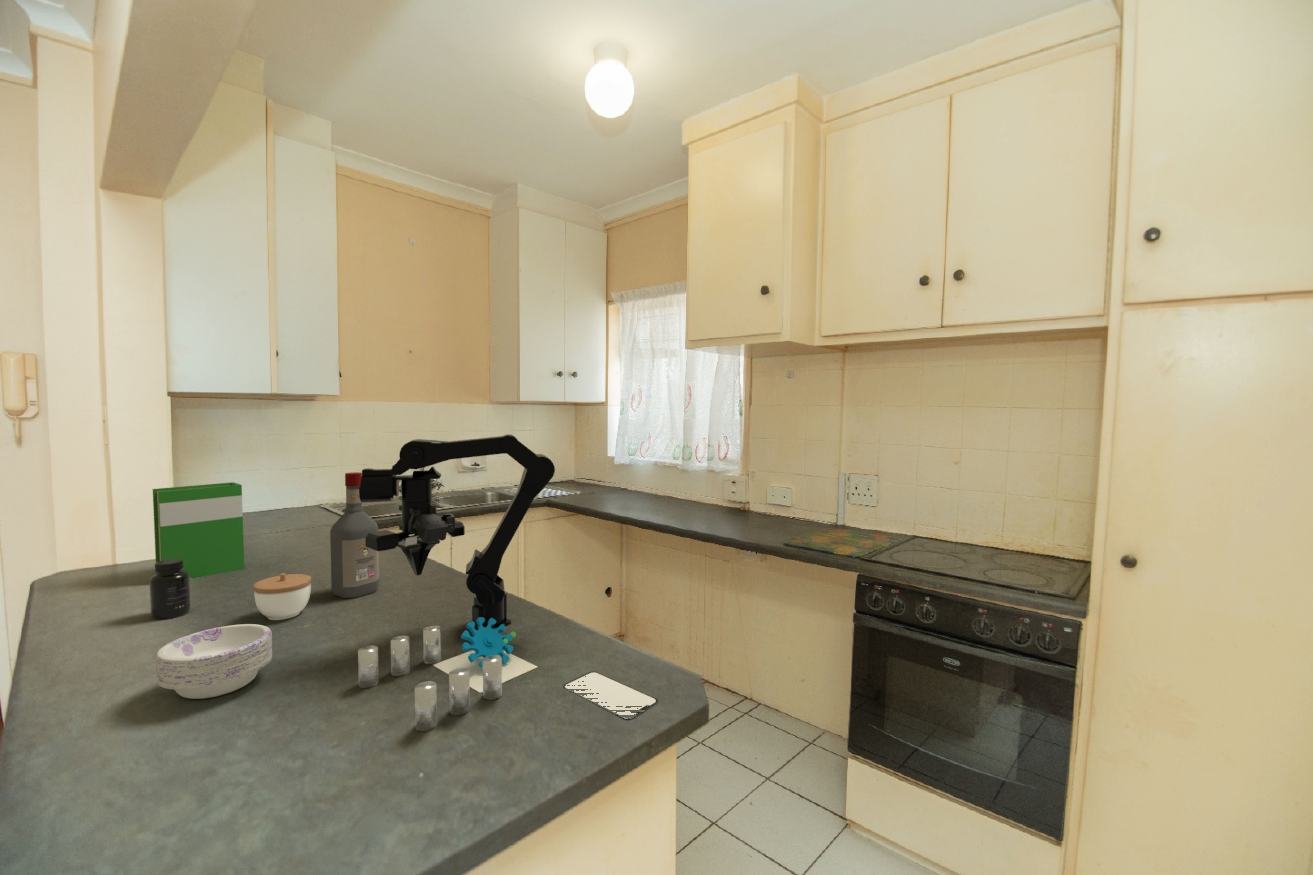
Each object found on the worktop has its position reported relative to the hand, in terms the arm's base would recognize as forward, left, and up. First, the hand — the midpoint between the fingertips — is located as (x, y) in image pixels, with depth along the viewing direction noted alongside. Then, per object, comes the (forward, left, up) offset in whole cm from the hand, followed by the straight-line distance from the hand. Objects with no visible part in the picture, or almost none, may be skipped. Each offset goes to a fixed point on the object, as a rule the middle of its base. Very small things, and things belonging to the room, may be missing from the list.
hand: (418, 574), depth 117 cm
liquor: (-2, -35, -12) cm, 37 cm away
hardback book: (+19, -82, -12) cm, 85 cm away
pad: (0, +24, -12) cm, 27 cm away
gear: (-2, +23, -12) cm, 26 cm away
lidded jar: (+15, -31, -12) cm, 37 cm away
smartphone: (-8, +48, -13) cm, 50 cm away
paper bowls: (+33, -4, -12) cm, 35 cm away
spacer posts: (+11, +24, -12) cm, 29 cm away
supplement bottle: (+31, -50, -12) cm, 60 cm away
